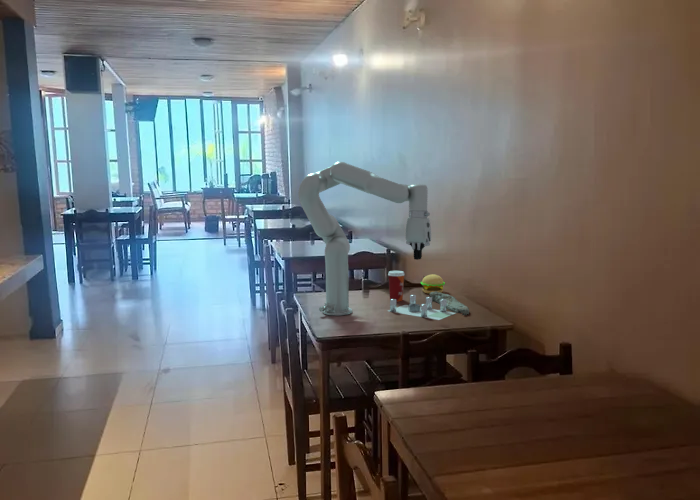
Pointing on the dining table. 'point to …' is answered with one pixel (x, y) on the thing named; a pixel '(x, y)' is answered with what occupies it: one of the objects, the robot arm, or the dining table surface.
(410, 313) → the board
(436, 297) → the elongated rock
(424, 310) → the spacers
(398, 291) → the paper cup
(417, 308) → the grey faceted hexagonal block
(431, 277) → the hamburger
